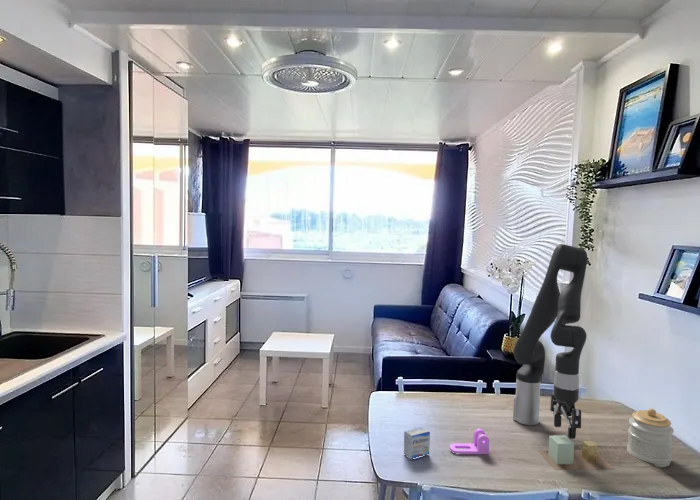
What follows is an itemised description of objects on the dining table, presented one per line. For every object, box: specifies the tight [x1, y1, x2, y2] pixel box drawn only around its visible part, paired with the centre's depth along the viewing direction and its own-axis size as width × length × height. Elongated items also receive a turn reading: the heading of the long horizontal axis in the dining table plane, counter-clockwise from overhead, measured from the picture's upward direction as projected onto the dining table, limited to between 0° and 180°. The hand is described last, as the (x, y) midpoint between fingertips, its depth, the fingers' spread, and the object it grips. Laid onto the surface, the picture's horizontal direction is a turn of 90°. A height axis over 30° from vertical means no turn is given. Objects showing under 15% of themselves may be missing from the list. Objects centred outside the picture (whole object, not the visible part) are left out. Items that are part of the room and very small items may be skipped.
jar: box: [626, 407, 675, 468], centre depth 159 cm, size 13×13×18 cm
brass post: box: [581, 440, 598, 462], centre depth 155 cm, size 3×3×6 cm
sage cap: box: [548, 435, 575, 464], centre depth 154 cm, size 6×6×7 cm
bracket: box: [448, 428, 490, 456], centre depth 162 cm, size 13×6×7 cm, turn 91°
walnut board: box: [537, 449, 615, 471], centre depth 155 cm, size 20×12×2 cm, turn 94°
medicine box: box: [403, 426, 431, 460], centre depth 158 cm, size 8×4×9 cm, turn 117°
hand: (564, 432), depth 154 cm, fingers open, 8 cm apart
